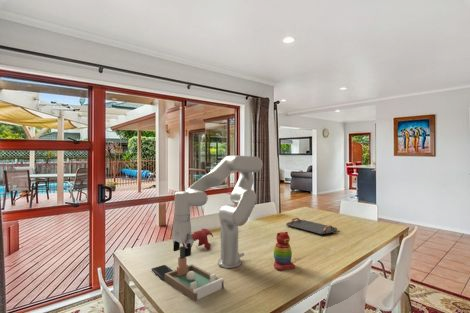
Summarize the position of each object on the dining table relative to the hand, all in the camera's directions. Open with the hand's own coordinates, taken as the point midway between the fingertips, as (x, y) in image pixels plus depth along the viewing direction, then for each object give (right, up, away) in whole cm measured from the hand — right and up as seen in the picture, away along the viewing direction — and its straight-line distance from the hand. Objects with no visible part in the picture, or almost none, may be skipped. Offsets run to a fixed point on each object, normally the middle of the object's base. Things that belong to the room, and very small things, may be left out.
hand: (182, 253), depth 124 cm
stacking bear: (+51, -12, +13) cm, 53 cm away
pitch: (+6, -12, -6) cm, 14 cm away
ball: (+5, -9, -5) cm, 11 cm away
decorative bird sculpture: (+4, -12, +39) cm, 41 cm away
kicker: (0, -10, 0) cm, 10 cm away
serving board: (+86, -12, +83) cm, 120 cm away
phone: (-10, -12, +5) cm, 16 cm away
